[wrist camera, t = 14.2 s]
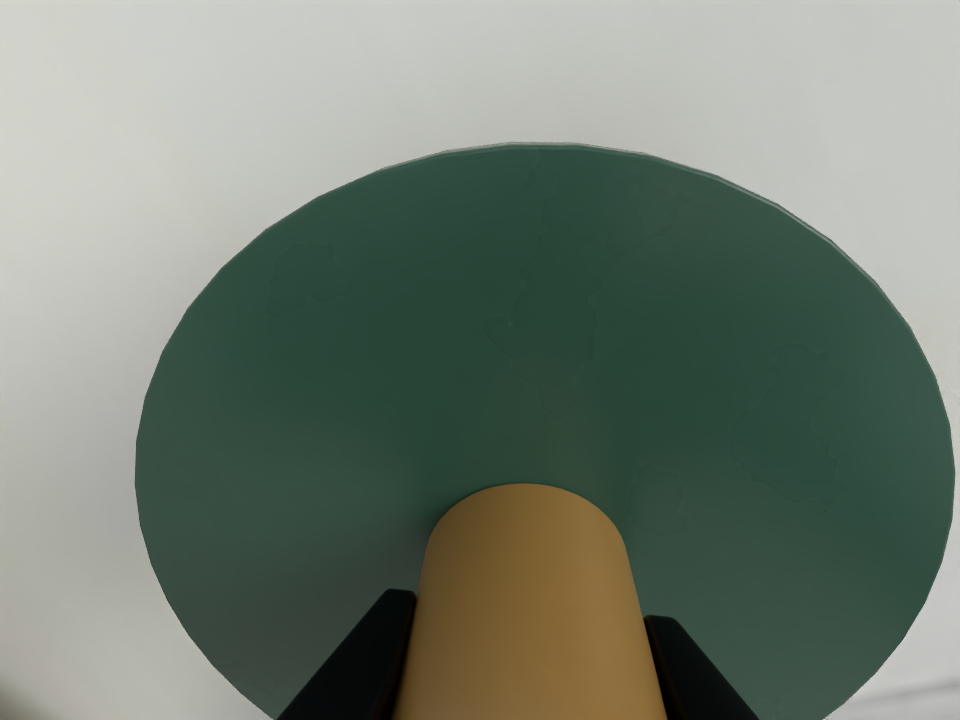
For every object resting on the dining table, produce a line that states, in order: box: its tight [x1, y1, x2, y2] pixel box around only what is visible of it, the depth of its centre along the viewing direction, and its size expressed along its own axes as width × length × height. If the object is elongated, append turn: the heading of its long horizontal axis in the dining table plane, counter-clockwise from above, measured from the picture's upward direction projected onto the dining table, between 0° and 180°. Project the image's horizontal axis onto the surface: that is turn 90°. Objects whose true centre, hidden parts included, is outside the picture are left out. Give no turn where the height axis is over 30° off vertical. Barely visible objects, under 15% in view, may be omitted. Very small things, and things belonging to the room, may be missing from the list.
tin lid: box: [135, 142, 955, 720], centre depth 7 cm, size 13×13×6 cm
